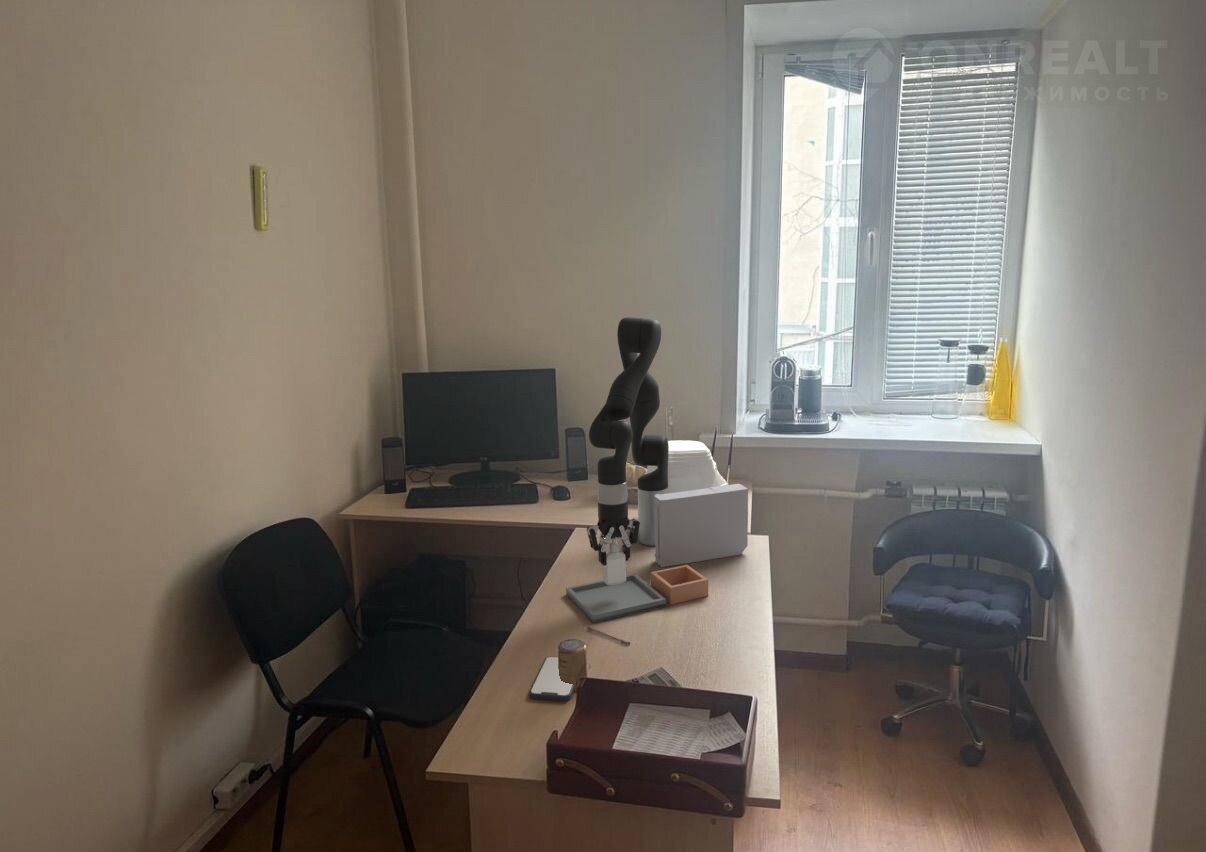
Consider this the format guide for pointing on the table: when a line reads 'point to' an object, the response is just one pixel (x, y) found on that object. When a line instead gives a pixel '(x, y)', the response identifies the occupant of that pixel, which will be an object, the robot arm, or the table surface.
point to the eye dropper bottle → (615, 565)
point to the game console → (700, 524)
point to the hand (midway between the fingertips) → (614, 561)
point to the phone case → (550, 683)
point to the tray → (615, 598)
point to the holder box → (680, 592)
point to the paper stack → (690, 467)
